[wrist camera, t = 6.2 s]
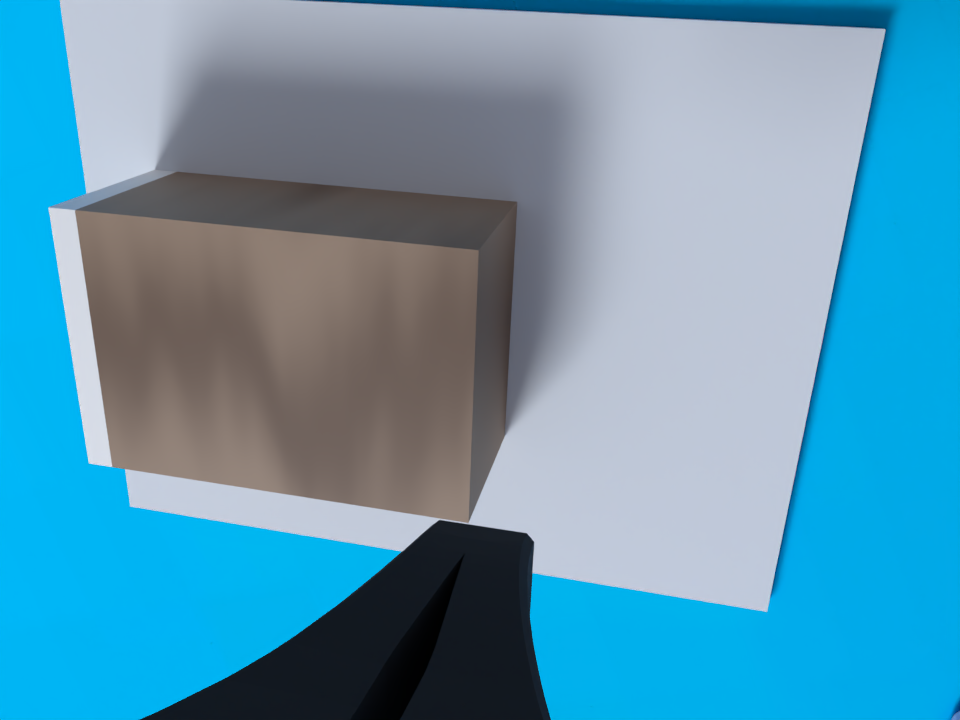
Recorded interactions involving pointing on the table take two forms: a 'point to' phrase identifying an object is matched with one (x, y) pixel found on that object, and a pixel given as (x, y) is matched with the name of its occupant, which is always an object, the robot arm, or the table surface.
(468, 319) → the walnut block
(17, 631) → the table surface
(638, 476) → the white mat
